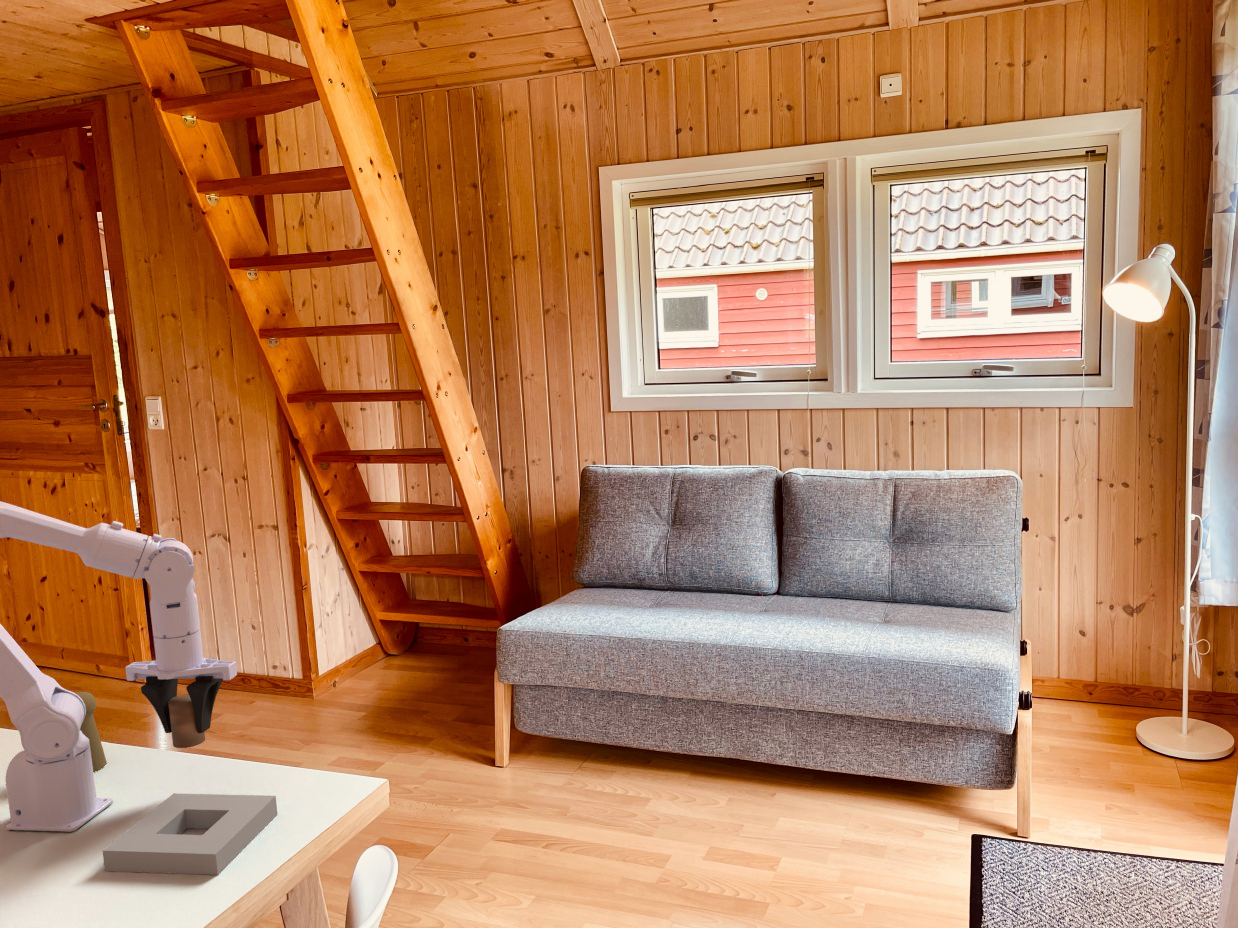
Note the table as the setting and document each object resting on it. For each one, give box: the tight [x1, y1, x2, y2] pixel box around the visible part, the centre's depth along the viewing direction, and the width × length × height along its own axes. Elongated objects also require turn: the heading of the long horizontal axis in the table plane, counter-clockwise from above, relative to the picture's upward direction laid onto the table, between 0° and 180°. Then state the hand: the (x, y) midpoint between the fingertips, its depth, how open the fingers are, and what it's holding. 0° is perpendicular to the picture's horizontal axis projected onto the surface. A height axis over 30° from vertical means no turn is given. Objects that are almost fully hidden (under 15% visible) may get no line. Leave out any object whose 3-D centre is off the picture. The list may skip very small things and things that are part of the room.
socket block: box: [102, 793, 278, 876], centre depth 119 cm, size 14×14×2 cm
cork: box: [74, 691, 108, 773], centre depth 141 cm, size 6×6×11 cm
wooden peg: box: [168, 693, 206, 749], centre depth 132 cm, size 4×4×6 cm
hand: (187, 730), depth 132 cm, fingers closed on wooden peg, 4 cm apart
